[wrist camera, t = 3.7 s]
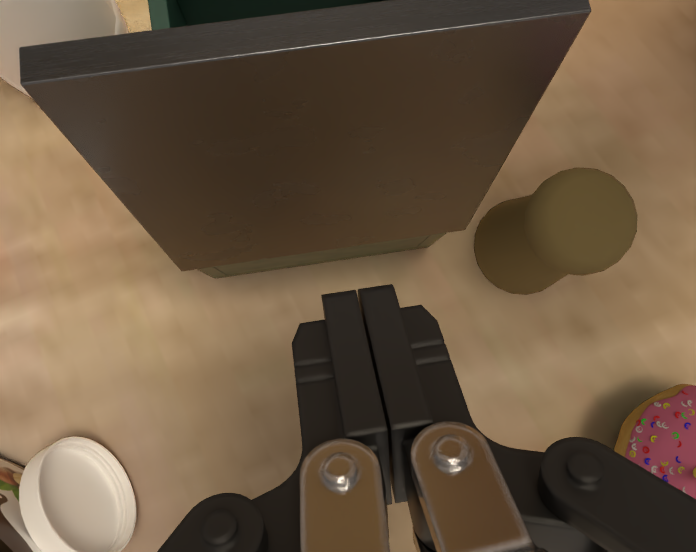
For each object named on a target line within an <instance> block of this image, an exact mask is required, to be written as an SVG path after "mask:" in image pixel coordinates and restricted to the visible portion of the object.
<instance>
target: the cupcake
mask: <svg viewBox="0 0 696 552" xmlns="http://www.w3.org/2000/svg"><path fill="white" fill-rule="evenodd" d="M614 451H615V452H617V453H619V454H620V455H622V456H624V457H625V458H627V459H629V460H630V461H632V462H634V463H636V464H637V465H639V466H641V467H642V468H644V469H646V470H647V471H649V472H651V473H652V474H654V475H656V476H657V477H659V478H661V479H663V480H664V481H666V482H668V483H669V484H671V485H673V486H674V487H676V488H678V489H679V490H681V491H683V492H684V493H686V494H688V495H690V496H691V497H693V498H695V499H696V386H694V385H688V384H680V385H677V386H674V387H672V388H670V389H668V390H665V391H663V392H661V393H658V394H657V395H655V396H653V397H651V398H650V399H648V400H646V401H645V402H643V403H642V404H640V405H639V406H638V407H637V408H636V409H634V410H633V411H632V412H631V413H630V415H629V416H628V417H627V418H626V420H625V421H624V423H623V424H622V426H621V429H620V433H619V436H618V439H617V442H616V444H615V447H614Z"/></svg>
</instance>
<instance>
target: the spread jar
mask: <svg viewBox="0 0 696 552" xmlns="http://www.w3.org/2000/svg"><path fill="white" fill-rule="evenodd" d="M135 523H136V501H135V496H134V492H133V488H132V485H131V483H130V480H129V478H128V476H127V474H126V472H125V470H124V468H123V467H122V465H121V464H120V463H119V461H118V460H117V459H116V458H115V457H114V456H113V454H112V453H111V452H110V451H109V450H107V449H106V448H105V447H103V446H102V445H101V444H99V443H97V442H95V441H93V440H91V439H87V438H84V437H75V436H72V437H66V438H63V439H61V440H59V441H57V442H55V443H53V444H51V445H50V446H48V447H46V448H45V449H43V450H41V451H40V452H38V453H37V454H36V455H35V456H34V457H33V458H31V460H30V461H29V463H28V464H27V465H26V467H25V468H23V467H21V466H19V465H17V464H15V463H13V462H10V461H8V460H5V459H3V458H0V552H120V551H122V550H123V549H124V548H125V546H126V545H127V544H128V542H129V541H130V539H131V536H132V534H133V532H134V528H135Z"/></svg>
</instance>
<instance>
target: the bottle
mask: <svg viewBox="0 0 696 552" xmlns="http://www.w3.org/2000/svg"><path fill="white" fill-rule="evenodd" d="M127 33H129V32H128V28H127V25H126V22H125V20H124V18H123V16H122V15H121V12H120V9H119V7H118V5H117V3H116V2H115V0H0V77H1V78H2V79H3V80H5V81H6V82H7V83H9V84H10V85H12V86H13V87H15V88H16V89H18V90H20V91H21V92H22V93H24V94H26V95H27V96H29V97H30V98H32V97H31V96H30V95H29V94H28V93H27V92H26V90H25V89H24V88H23V87H22V86H21V84H20V60H19V48H20V47H24V46H32V45H40V44H48V43H56V42H63V41H71V40H79V39H87V38H95V37H103V36H111V35H119V34H127Z"/></svg>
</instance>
